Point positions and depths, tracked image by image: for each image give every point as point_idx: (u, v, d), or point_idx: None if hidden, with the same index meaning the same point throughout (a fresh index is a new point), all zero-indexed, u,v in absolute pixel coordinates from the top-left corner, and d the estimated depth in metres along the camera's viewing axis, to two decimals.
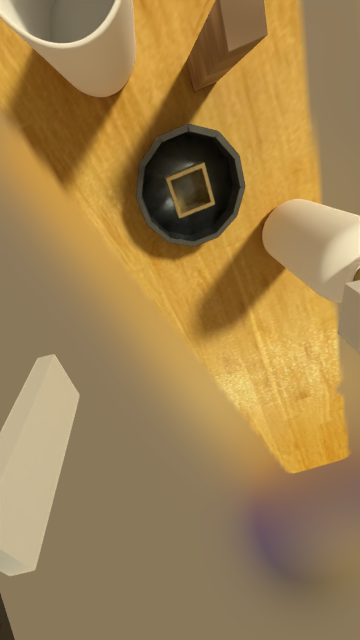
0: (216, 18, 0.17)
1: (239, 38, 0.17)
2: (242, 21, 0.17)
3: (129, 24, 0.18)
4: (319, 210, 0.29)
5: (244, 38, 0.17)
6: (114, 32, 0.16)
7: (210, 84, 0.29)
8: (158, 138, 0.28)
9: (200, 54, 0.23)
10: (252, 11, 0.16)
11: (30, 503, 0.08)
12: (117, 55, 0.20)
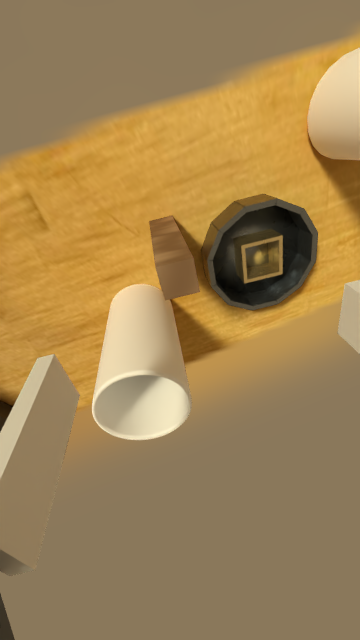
0: None
1: (192, 283, 0.19)
2: (182, 281, 0.19)
3: (161, 335, 0.25)
4: None
5: (193, 278, 0.19)
6: (179, 368, 0.23)
7: None
8: (213, 287, 0.31)
9: None
10: (177, 272, 0.18)
11: (30, 503, 0.08)
12: (175, 342, 0.26)
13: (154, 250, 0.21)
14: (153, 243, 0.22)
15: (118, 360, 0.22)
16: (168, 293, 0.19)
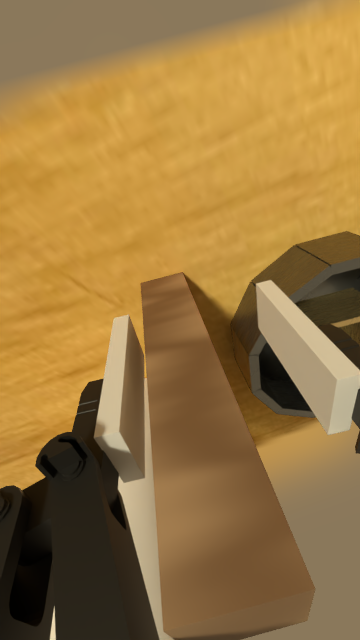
0: None
1: (290, 617, 0.05)
2: (256, 623, 0.05)
3: None
4: None
5: (296, 613, 0.05)
6: None
7: None
8: (254, 392, 0.18)
9: None
10: (243, 619, 0.05)
11: (136, 425, 0.10)
12: None
13: (154, 437, 0.07)
14: (150, 387, 0.09)
15: None
16: None
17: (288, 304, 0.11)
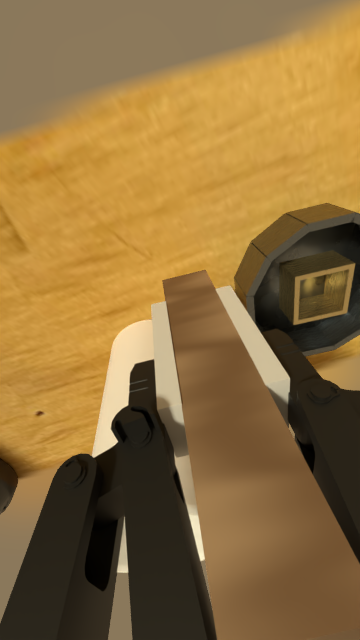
0: None
1: None
2: None
3: None
4: None
5: None
6: None
7: None
8: None
9: None
10: None
11: None
12: None
13: (190, 442, 0.07)
14: (181, 388, 0.09)
15: None
16: None
17: (240, 309, 0.11)
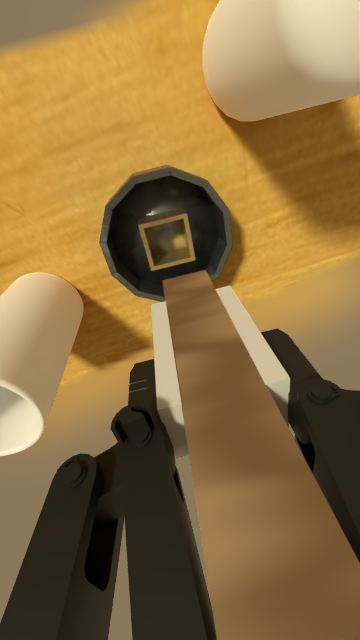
0: None
1: None
2: None
3: (22, 329, 0.21)
4: (227, 32, 0.15)
5: None
6: (26, 370, 0.18)
7: None
8: (113, 275, 0.27)
9: None
10: None
11: None
12: (46, 338, 0.22)
13: (190, 444, 0.07)
14: (182, 389, 0.09)
15: None
16: None
17: (239, 310, 0.11)
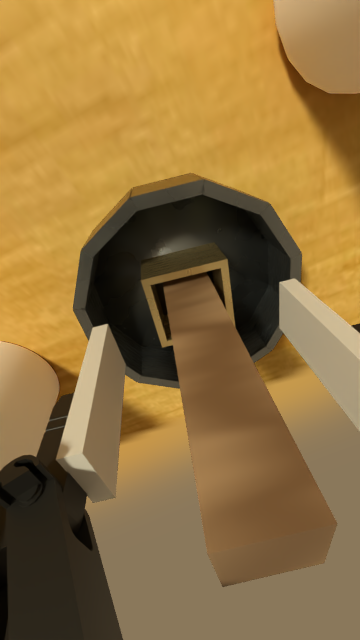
0: None
1: (311, 556, 0.06)
2: (282, 559, 0.06)
3: None
4: None
5: (316, 551, 0.06)
6: None
7: None
8: None
9: None
10: (273, 551, 0.06)
11: (107, 442, 0.09)
12: None
13: (186, 405, 0.08)
14: (178, 364, 0.10)
15: None
16: (235, 577, 0.06)
17: (317, 303, 0.11)
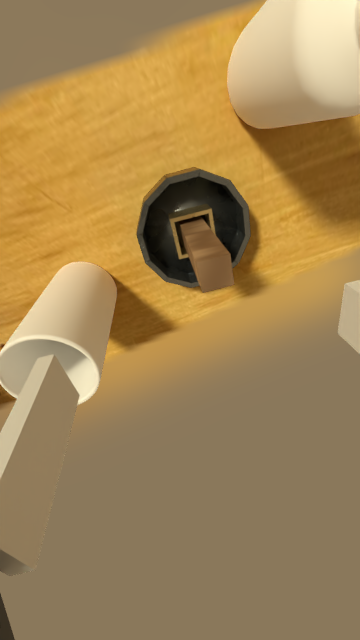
0: None
1: (228, 276, 0.21)
2: (219, 275, 0.21)
3: (78, 306, 0.25)
4: (252, 63, 0.19)
5: (229, 273, 0.21)
6: (86, 336, 0.23)
7: None
8: (146, 262, 0.31)
9: None
10: (214, 267, 0.20)
11: (30, 503, 0.08)
12: (96, 314, 0.26)
13: (190, 247, 0.23)
14: (188, 241, 0.25)
15: (23, 327, 0.22)
16: (205, 285, 0.21)
17: None
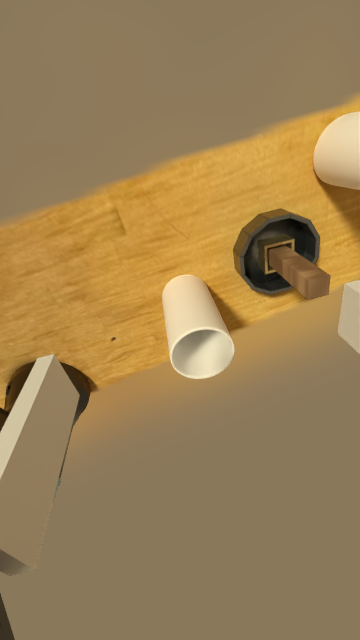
0: None
1: (326, 289, 0.32)
2: (320, 288, 0.32)
3: (211, 308, 0.36)
4: (347, 158, 0.31)
5: (327, 287, 0.32)
6: (226, 328, 0.34)
7: None
8: (242, 276, 0.42)
9: None
10: (319, 283, 0.32)
11: (30, 503, 0.08)
12: (219, 313, 0.37)
13: (295, 269, 0.34)
14: (288, 264, 0.36)
15: (187, 322, 0.33)
16: (310, 295, 0.32)
17: None
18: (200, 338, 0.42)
